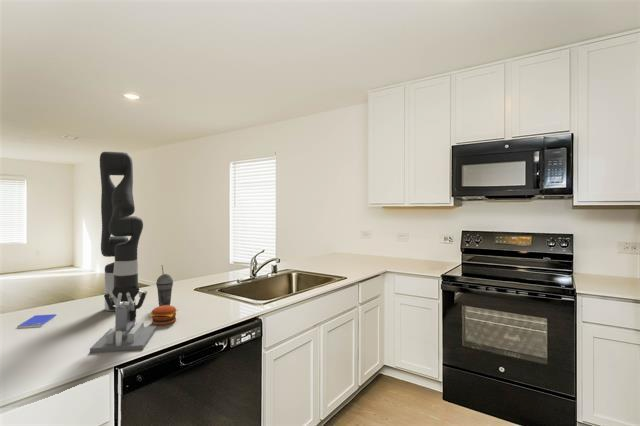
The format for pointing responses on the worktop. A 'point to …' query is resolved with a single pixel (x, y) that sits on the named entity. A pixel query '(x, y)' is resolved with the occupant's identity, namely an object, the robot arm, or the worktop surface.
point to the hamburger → (163, 315)
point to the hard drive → (37, 321)
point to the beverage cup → (164, 289)
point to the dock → (124, 339)
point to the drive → (123, 317)
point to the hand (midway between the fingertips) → (125, 320)
